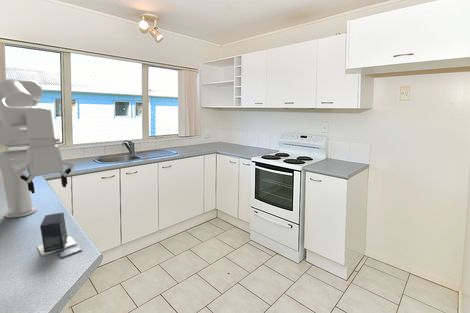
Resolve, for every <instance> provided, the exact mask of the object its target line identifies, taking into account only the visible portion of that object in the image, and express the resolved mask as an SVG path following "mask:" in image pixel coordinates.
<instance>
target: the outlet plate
mask: <svg viewBox="0 0 470 313" xmlns="http://www.w3.org/2000/svg"><path fill="white" fill-rule="evenodd" d="M73 246H77V242H76V241H75V240H74V239H73V237H72V236H67V239H66V243H65V246H64V249H59V250H54V251H49V252H44V247H43V244H40V245H37V250H38V252H39V253H40V255H41V256H47V255H49V254H53V253H56V252H58V251H61V250H65V249H67V248H71V247H73Z"/></svg>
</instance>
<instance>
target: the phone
mask: <svg viewBox="0 0 470 313" xmlns="http://www.w3.org/2000/svg"><path fill="white" fill-rule="evenodd" d="M81 252H83V249H82V248H81V247H80V246H76V247H74V248H71V249H68V250H66V251H63V252H60V253H58V254H57V257H58V258H59V259H60V260H61V259H65V258H68V257H70V256H73V255H76V254H78V253H81Z"/></svg>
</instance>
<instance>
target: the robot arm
mask: <svg viewBox="0 0 470 313" xmlns="http://www.w3.org/2000/svg"><path fill="white" fill-rule="evenodd" d="M43 94H44V93H43V89H42V86H41V84H40V83H38V82H37V81H35V80H32V79H15V78H9V79H3V80H2V81H0V146H1V147H3V148H14V149H7V150H6V149H5V150H2V151H0V173H1V177H2V183H3V188H4V194H5V198H6V199H5V200H6V204H7V211H5V212H4V217H5V218H11V219H13V218H21V217H25V216H29V215H31V214H33V213H36V212H37V211H38V208H37V206H34V205H33V201H32V194H35V193H36V192H35V185H34V181H33V180H34V178H35V177H40V176H48V175H54V174H58V173H59V174H60V181H61V186H62V187H63V188H67V185H68V175H69V174H70V173H71V172H72V169H73V167H74V165H75V164H74V163H73V162H69V161H67V160H63V159H62V154H61V151H60V148H59V145H57V143H60V142H61V140H60V137H57V138H56V136H55V130H54V123H53V122H54V121H53V114H52V111H51V109H50V108H49V107H45V106H37V105H38V104H39V103H40V101H41V100H42V98H43ZM26 146H27V147H26ZM17 147H25V148H17ZM64 165H65V166H67V168H66V169H65V171H64ZM26 170H27V172H28V175H27V174H26V173H25V171H26Z"/></svg>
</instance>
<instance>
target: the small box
mask: <svg viewBox="0 0 470 313" xmlns="http://www.w3.org/2000/svg"><path fill="white" fill-rule="evenodd" d="M41 221H42V222H41V223H40V225H39V228H40V233H41V234H40V235H41V240H42V245H43V247H44V252H49V251H54V250H59V249H62V250H65V249H64V246H65V243H66V239H67V237H68V234H67V233H68V232H67V228H66V219H65V213H64V212H57V213H52V214H46V215H44V217H43V219H42V220H41ZM59 251H60V250H59Z"/></svg>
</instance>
